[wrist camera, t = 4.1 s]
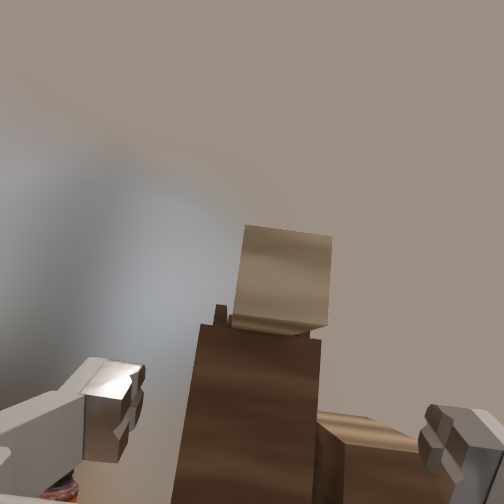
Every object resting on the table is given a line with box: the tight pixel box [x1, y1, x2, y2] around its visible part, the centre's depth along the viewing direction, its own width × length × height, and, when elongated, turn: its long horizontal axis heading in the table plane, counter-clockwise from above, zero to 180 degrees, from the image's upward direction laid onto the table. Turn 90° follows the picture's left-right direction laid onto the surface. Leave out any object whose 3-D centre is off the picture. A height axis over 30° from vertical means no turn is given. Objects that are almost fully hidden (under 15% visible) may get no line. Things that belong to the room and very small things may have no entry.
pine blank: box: [232, 225, 332, 336], centre depth 25 cm, size 22×4×4 cm, turn 4°
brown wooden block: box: [171, 304, 321, 504], centre depth 26 cm, size 15×8×28 cm, turn 4°
